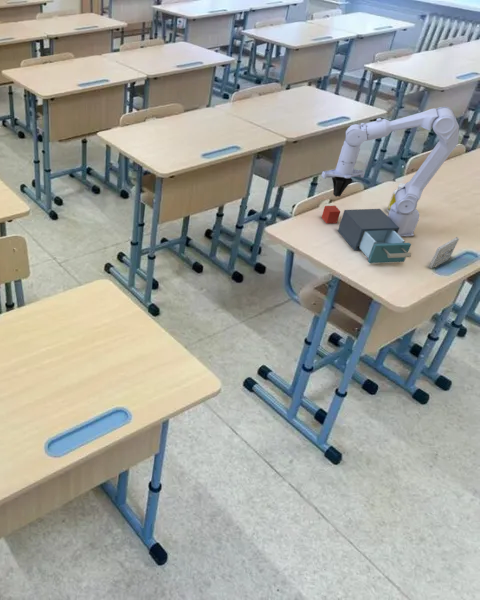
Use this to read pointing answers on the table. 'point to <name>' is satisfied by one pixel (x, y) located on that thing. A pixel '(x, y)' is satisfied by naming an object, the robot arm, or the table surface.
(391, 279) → the table surface
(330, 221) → the red block
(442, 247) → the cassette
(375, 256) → the teal drawer
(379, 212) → the grey drawer cabinet
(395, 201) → the pill bottle
